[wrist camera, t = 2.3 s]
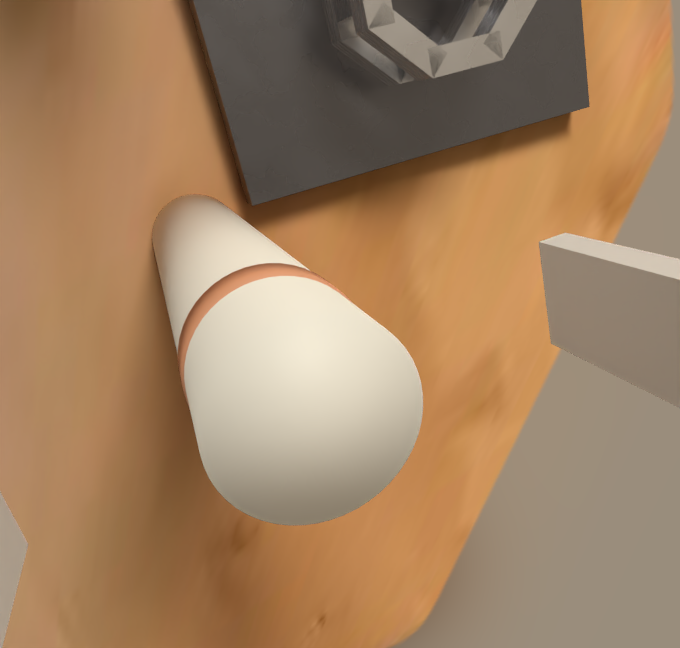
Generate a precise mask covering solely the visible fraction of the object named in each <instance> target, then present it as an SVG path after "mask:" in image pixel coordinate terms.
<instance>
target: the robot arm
mask: <svg viewBox="0 0 680 648" xmlns="http://www.w3.org/2000/svg"><path fill="white" fill-rule="evenodd" d="M539 248H540V256H541V264H542V273H543V281H544V289H545V297H546V306H547V314H548V322H549V331H550V339H551V344H553V345H555V346H557V347H559V348H561V349H563V350H565V351H567V352H570V353H571V354H573V355H575V356H577V357H579V358H581V359H583V360H585V361H587V362H589V363H591V364H594V365H595V366H597V367H599V368H601V369H603V370H605V371H607V372H609V373H611V374H613V375H615V376H617V377H619V378H621V379H623V380H625V381H627V382H629V383H631V384H633V385H635V386H637V387H639V388H641V389H643V390H645V391H647V392H649V393H651V394H653V395H655V396H657V397H659V398H661V399H663V400H665V401H667V402H669V403H671V404H673V405H675V406H677V407H679V408H680V259H677V258H672V257H668V256H664V255H659V254H655V253H651V252H646V251H642V250H638V249H633V248H629V247H625V246H620V245H616V244H612V243H607V242H603V241H599V240H594V239H590V238H586V237H581V236H577V235H573V234H568V233H563V234H561V235H558V236H555V237H552V238H549V239H546V240H543V241H540V242H539ZM27 547H28V543H27V541H26V539H25V537H24V535H23V533H22V532H21V530H20V528H19V526H18V524H17V522H16V520H15V518H14V517H13V515H12V513H11V511H10V509H9V507H8V505H7V503H6V502H5V500H4V498H3V496H2V494H1V492H0V648H2V646H3V642H4V638H5V634H6V631H7V627H8V623H9V619H10V615H11V611H12V607H13V603H14V599H15V595H16V591H17V587H18V583H19V579H20V575H21V571H22V567H23V563H24V559H25V555H26V551H27Z"/></svg>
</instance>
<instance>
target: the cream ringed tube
mask: <svg viewBox="0 0 680 648" xmlns="http://www.w3.org/2000/svg"><path fill="white" fill-rule="evenodd" d="M152 242H153V248H154V252H155V257H156V261H157V265H158V270H159V274H160V279H161V283H162V288H163V292H164V297H165V301H166V305H167V310H168V314H169V319H170V323H171V328H172V332H173V337H174V341H175V345H176V350H177V354H178V366H179V373H180V378H181V382H182V387H183V392H184V395H185V398H186V402H187V404H188V407H189V409H190V412H191V416H192V421H193V425H194V430H195V434H196V439H197V443H198V448H199V452H200V456H201V459H202V462H203V466H204V468H205V470H206V473H207V475H208V477H209V479H210V480H211V482H212V483H213V485H214V486H215V488H216V489H217V491H218V492H219V493H220V494H221V495H222V496H223V497H224V498H225V499H226V500H227V501H228V502H229V503H231V504H232V505H233V506H234V507H236V508H237V509H239V510H240V511H242V512H244V513H246V514H247V515H249V516H252V517H254V518H257V519H259V520H262V521H266V522H270V523H274V524H282V525H308V524H316V523H320V522H324V521H329V520H332V519H335V518H337V517H340V516H343V515H345V514H347V513H349V512H351V511H353V510H355V509H357V508H359V507H360V506H362V505H364V504H365V503H367V502H368V501H370V500H371V499H372V498H373V497H375V496H376V495H377V494H379V493H380V492H381V491H382V490H383V489H384V488H385V487H386V486H387V485H388V484H389V483H390V482H391V481H392V480H393V478H394V477H395V476H396V475H397V474H398V473H399V471H400V470H401V468H402V467H403V465H404V464H405V462H406V461H407V459H408V457H409V455H410V453H411V451H412V449H413V447H414V444H415V442H416V439H417V437H418V433H419V429H420V425H421V421H422V413H423V393H422V386H421V381H420V377H419V374H418V370H417V368H416V366H415V364H414V361H413V359H412V358H411V356H410V354H409V353H408V351H407V350H406V348H405V347H404V346H403V345H402V343H401V342H400V341H399V340H398V339H397V338H396V337H395V336H394V335H393V334H391V333H390V332H389V331H388V330H387V329H385V328H384V327H383V326H382V325H380V324H379V323H378V322H376V321H375V320H374V319H372V318H371V317H370V316H369V315H367V314H366V313H365V312H363V311H362V310H361V309H359V308H358V307H357V306H356V305H354V304H353V303H352V302H351V300H350V299H349V298H348V297H347V296H345V295H344V294H343V293H342V292H341V291H340V290H338V289H337V288H336V287H334V286H333V285H332V284H330V283H329V282H328V281H326V280H325V279H324V278H322V277H320V276H319V275H317V274H316V273H314V272H311V271H310V270H309V269H307V268H306V267H305V266H303V265H302V264H301V263H299V262H298V261H297V260H296V259H294V258H293V257H292V256H290V255H289V254H288V253H286V252H285V251H284V250H283V249H281V248H280V247H279V246H277V245H276V244H275V243H273V242H272V241H271V240H270V239H268V238H267V237H266V236H264V235H263V234H262V233H260V232H259V231H258V230H256V229H255V228H254V227H253V226H251V225H250V224H249V223H247V222H246V221H245V220H243V219H242V218H241V217H240V216H238V215H237V214H236V213H234V212H233V211H232V210H230V209H229V208H228V207H227V206H225V205H224V204H223V203H221V202H220V201H218V200H216V199H214V198H212V197H209V196H206V195H201V194H190V195H185V196H181V197H178V198H176V199H174V200H172V201H171V202H169V203H168V204H167V205H166V206H165V207H164V208H163V209H162V210H161V211H160V212H159V214H158V216H157V217H156V220H155V222H154V226H153V230H152Z"/></svg>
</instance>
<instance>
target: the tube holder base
mask: <svg viewBox="0 0 680 648" xmlns="http://www.w3.org/2000/svg"><path fill="white" fill-rule="evenodd" d="M188 1H189V5H190V8H191V12H192V15H193V18H194V22H195V25H196V29H197V32H198V36H199V39H200V42H201V46H202V49H203V53H204V56H205V60H206V63H207V66H208V70H209V73H210V77H211V80H212V84H213V87H214V90H215V94H216V97H217V101H218V104H219V108H220V111H221V114H222V118H223V121H224V125H225V128H226V132H227V135H228V138H229V142H230V145H231V149H232V152H233V156H234V159H235V162H236V166H237V169H238V173H239V176H240V180H241V183H242V186H243V190H244V193H245V197H246V200H247V203H249V204H250V205H252V206H254V205H257V204H260V203H264V202H267V201H271V200H274V199H277V198H281V197H284V196H287V195H291V194H294V193H298V192H301V191H304V190H308V189H311V188H315V187H318V186H321V185H325V184H328V183H332V182H335V181H338V180H342V179H345V178H349V177H352V176H355V175H359V174H362V173H366V172H369V171H372V170H376V169H379V168H383V167H386V166H389V165H393V164H396V163H400V162H403V161H406V160H410V159H413V158H417V157H420V156H423V155H427V154H430V153H434V152H437V151H440V150H444V149H447V148H451V147H454V146H457V145H461V144H464V143H468V142H471V141H474V140H478V139H481V138H485V137H488V136H491V135H495V134H498V133H502V132H505V131H508V130H512V129H515V128H519V127H522V126H525V125H529V124H532V123H536V122H539V121H542V120H546V119H549V118H553V117H556V116H559V115H563V114H566V113H570V112H573V111H576V110H580V109H583V108H587V107H589V96H588V83H587V71H586V58H585V46H584V33H583V20H582V8H581V0H188Z"/></svg>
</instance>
